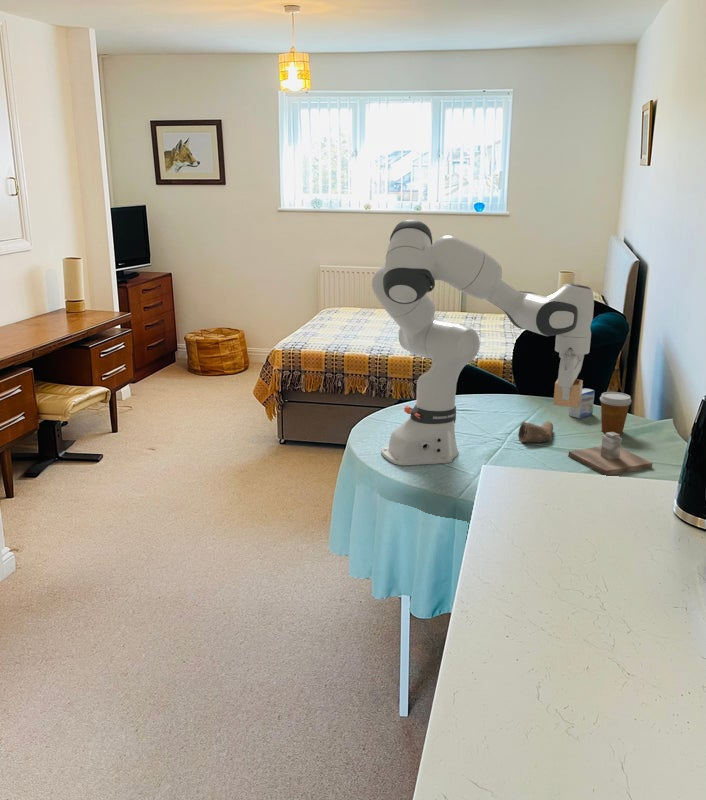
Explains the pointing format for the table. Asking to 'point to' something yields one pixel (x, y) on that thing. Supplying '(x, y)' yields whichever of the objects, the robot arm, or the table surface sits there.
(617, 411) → the disposable coffee cup
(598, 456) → the wavy brown square sheet
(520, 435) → the pipe
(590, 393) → the medicine box
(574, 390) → the tan hollow cube
